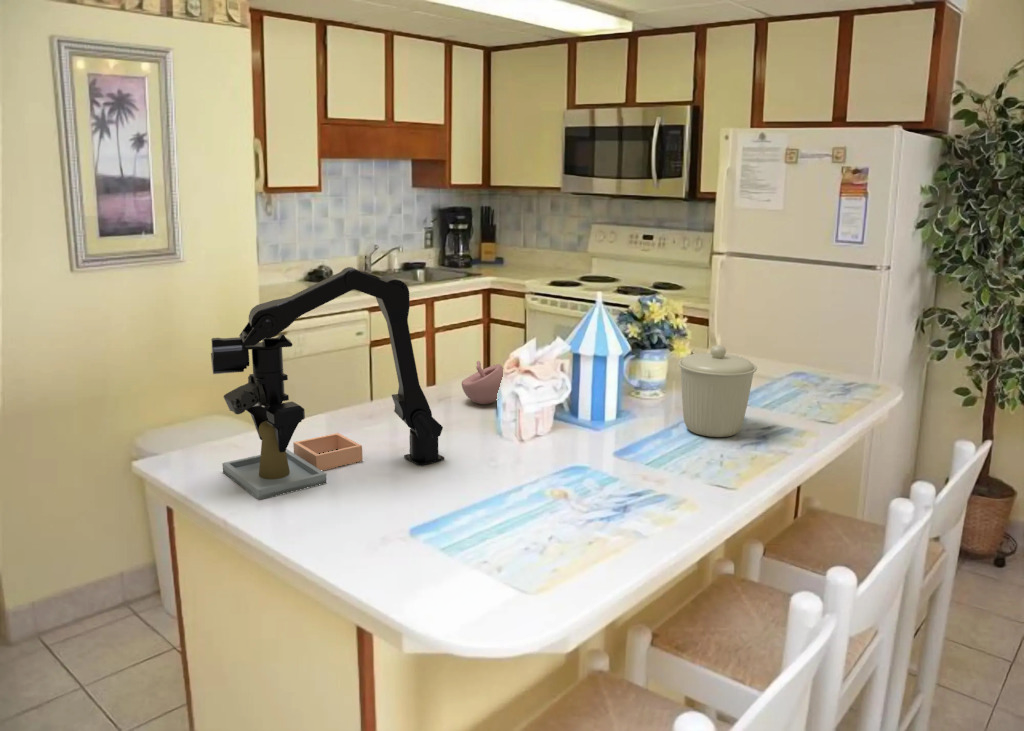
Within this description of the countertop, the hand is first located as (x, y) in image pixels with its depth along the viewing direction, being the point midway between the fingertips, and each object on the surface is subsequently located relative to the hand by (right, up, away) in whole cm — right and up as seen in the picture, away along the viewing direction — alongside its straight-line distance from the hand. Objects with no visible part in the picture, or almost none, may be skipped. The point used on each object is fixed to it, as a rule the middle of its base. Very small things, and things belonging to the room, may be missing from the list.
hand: (272, 445), depth 169 cm
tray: (0, -7, +2) cm, 7 cm away
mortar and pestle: (+40, +6, +55) cm, 68 cm away
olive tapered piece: (0, -6, +2) cm, 6 cm away
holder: (+8, -4, +12) cm, 15 cm away
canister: (+96, 0, +35) cm, 102 cm away
